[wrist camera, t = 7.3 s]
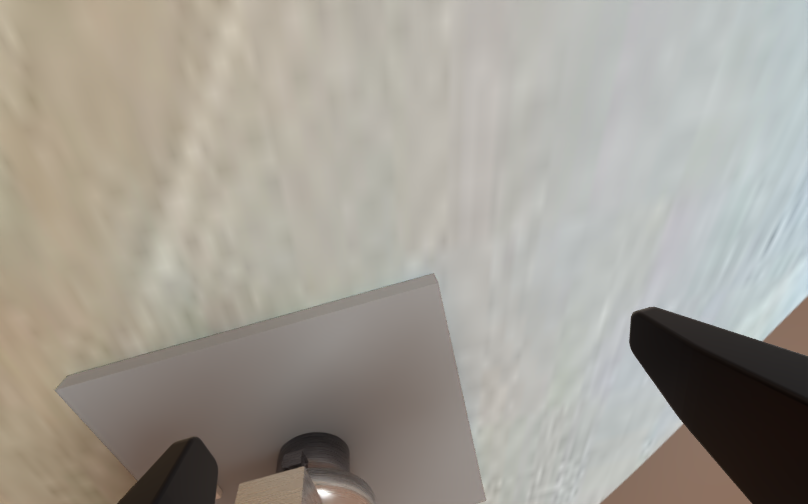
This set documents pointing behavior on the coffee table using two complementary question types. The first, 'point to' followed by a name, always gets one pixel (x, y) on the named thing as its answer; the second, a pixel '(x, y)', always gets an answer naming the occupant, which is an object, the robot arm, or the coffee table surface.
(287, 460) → the dark grey rounded piece
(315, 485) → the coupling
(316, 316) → the base plate
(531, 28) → the coffee table surface
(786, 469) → the robot arm
